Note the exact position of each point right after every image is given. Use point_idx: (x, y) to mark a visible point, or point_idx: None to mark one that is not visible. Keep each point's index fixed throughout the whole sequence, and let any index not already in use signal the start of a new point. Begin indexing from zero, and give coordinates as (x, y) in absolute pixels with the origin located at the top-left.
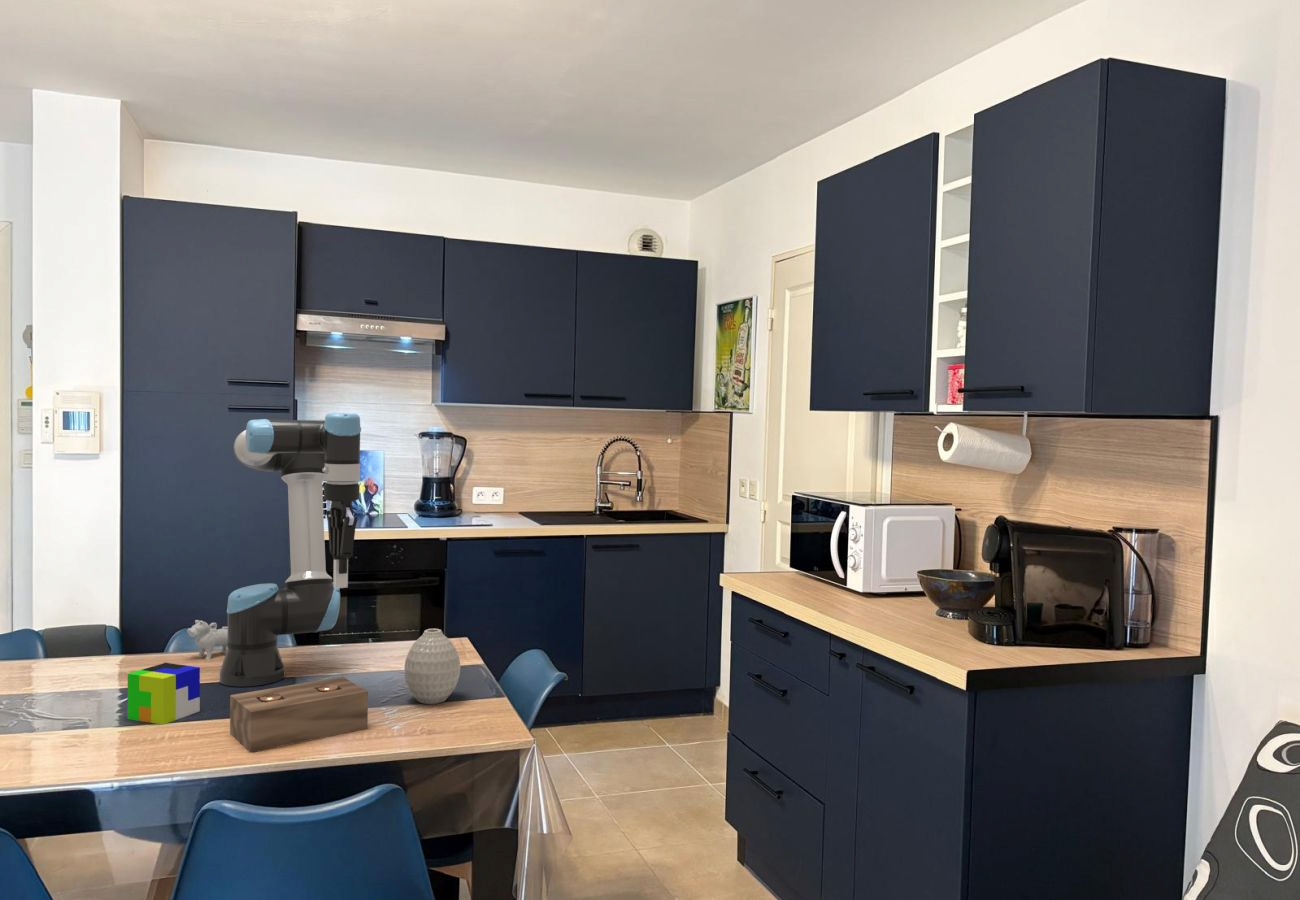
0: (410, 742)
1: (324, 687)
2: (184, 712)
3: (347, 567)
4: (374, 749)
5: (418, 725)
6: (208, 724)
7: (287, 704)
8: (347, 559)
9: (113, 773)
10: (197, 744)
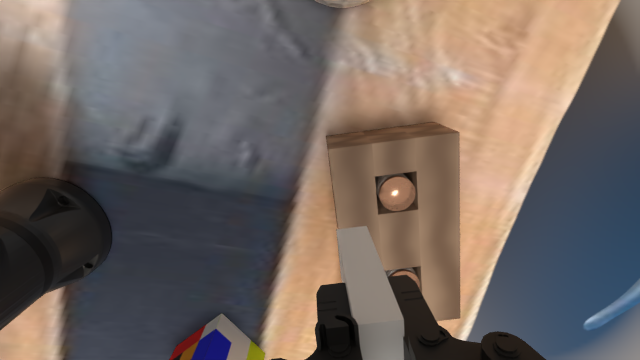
0: (540, 79)
1: (397, 200)
2: (239, 335)
3: (389, 283)
4: (532, 139)
5: (470, 38)
6: (291, 309)
7: (454, 268)
8: (403, 318)
9: None
10: None
